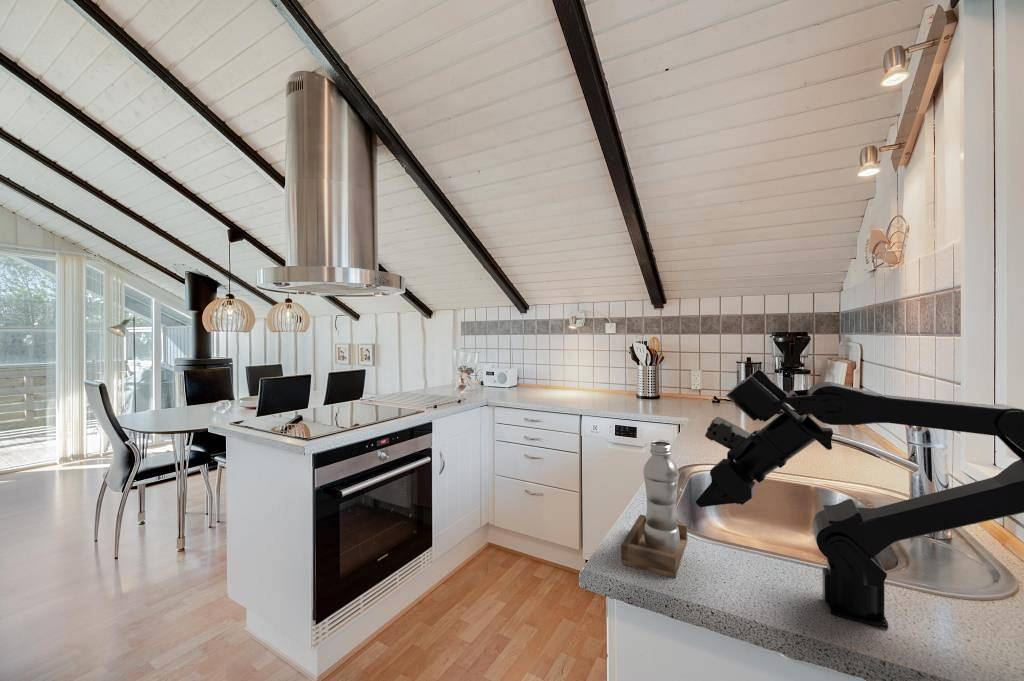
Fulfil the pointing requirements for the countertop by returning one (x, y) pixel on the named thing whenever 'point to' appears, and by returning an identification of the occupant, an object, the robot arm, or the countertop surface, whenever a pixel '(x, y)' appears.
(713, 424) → the robot arm
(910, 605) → the countertop surface
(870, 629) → the countertop surface
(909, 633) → the countertop surface
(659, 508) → the silver metal bottle
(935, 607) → the countertop surface
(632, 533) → the bottle stand
